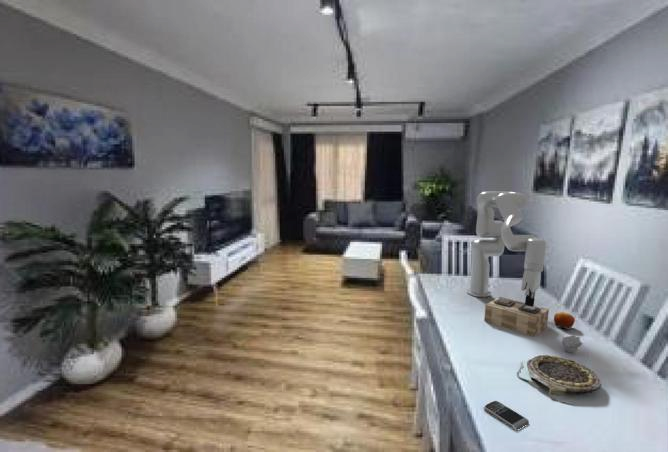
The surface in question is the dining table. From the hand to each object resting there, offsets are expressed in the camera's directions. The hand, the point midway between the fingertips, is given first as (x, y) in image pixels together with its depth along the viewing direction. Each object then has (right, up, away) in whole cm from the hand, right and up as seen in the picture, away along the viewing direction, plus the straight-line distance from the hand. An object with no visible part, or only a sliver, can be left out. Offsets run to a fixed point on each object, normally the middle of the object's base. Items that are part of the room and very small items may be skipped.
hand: (529, 305), depth 165 cm
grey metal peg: (0, -10, +1) cm, 10 cm away
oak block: (-4, -9, +5) cm, 11 cm away
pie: (-11, -17, -42) cm, 46 cm away
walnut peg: (-8, -8, +9) cm, 14 cm away
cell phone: (-39, -20, -60) cm, 74 cm away
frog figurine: (+5, -14, -22) cm, 26 cm away
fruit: (+17, -10, +2) cm, 20 cm away
